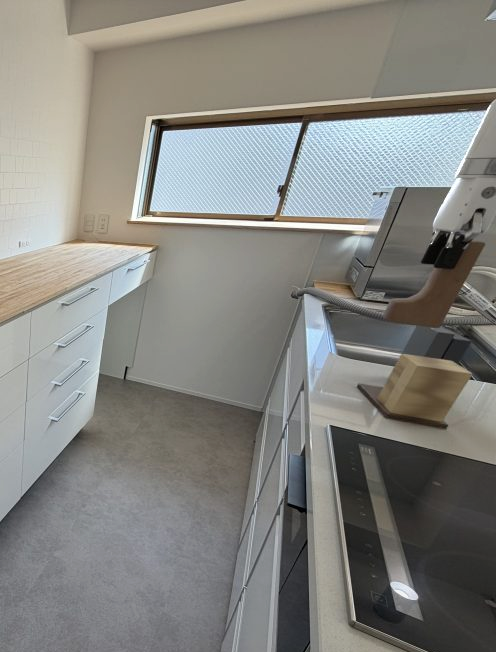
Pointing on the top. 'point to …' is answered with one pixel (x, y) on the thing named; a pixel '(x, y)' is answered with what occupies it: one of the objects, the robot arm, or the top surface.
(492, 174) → the robot arm
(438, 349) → the grey books
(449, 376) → the wood cube on plate
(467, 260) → the brown l-shaped piece
